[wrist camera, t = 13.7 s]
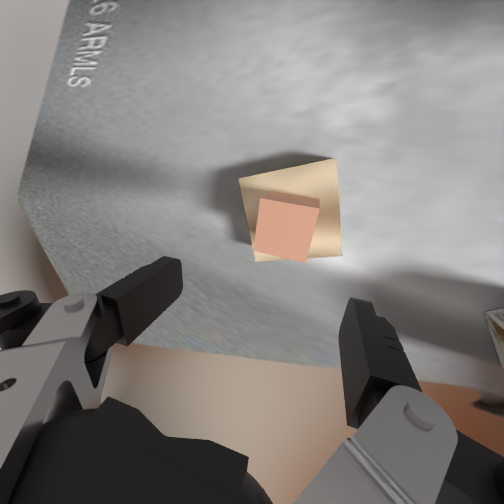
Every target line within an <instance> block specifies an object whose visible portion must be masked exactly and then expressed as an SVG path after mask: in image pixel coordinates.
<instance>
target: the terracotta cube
mask: <svg viewBox="0 0 504 504" xmlns="http://www.w3.org/2000/svg"><path fill="white" fill-rule="evenodd" d="M319 210H320V199H316V198H310V197H304V196H298V195H292V194H286V193H280V192H274V191H271V192H270V193H268V194H266V195H265V196H263V197H261V198H260V204H259V211H258V219H257V226H256V234H255V241H254V249H253V251H256V252H261V253H265V254H269V255H273V256H278V257H282V258H286V259H291V260H295V261H299V262H304V263H306V260H307V256H308V252H309V248H310V245H311V241H312V237H313V233H314V229H315V225H316V221H317V217H318V214H319Z"/></svg>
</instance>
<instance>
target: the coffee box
mask: <svg viewBox="0 0 504 504" xmlns="http://www.w3.org/2000/svg"><path fill="white" fill-rule="evenodd" d="M484 315H485V318H486V321H487V324H488V327H489V330H490V333H491V336H492V339H493V342H494V345H495V348H496V351H497V354H498V357H499V360H500V363H501V366H502V367H503V368H504V308H502V309H497V310H492V311H487V312H485V313H484Z"/></svg>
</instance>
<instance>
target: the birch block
mask: <svg viewBox="0 0 504 504" xmlns="http://www.w3.org/2000/svg"><path fill="white" fill-rule="evenodd" d="M238 180H239V184H240V189H241V194H242V199H243V204H244V208H245V213H246V218H247V223H248V228H249V232H250V237H251V242H252V247H253V249H254V241H255V234H256V226H257V219H258V211H259V204H260V198H261V197H263V196H265V195H266V194H268V193H270V192H271V191H274V192H280V193H286V194H292V195H298V196H304V197H310V198H316V199H320V210H319V214H318V217H317V221H316V225H315V229H314V233H313V237H312V241H311V245H310V248H309V252H308V256H307V258H318V257H333V256H342V243H341V225H340V207H339V190H338V172H337V158H333V159H328V160H323V161H319V162H314V163H309V164H304V165H300V166H295V167H290V168H286V169H281V170H276V171H271V172H267V173H262V174H257V175H253V176H248V177H243V178H238ZM254 256H255V261H256V262H258V261H273V260H288V259H286V258H282V257H278V256H273V255H269V254H265V253H261V252H256V251H254Z"/></svg>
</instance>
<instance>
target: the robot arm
mask: <svg viewBox="0 0 504 504" xmlns="http://www.w3.org/2000/svg"><path fill="white" fill-rule="evenodd" d="M182 289H183V279H182V266H181V261H180V260H179V259H176V258H171V257H167V256H163V257H161V258H160V259H158V260H156V261H155V262H153V263H151V264H149V265H146V266H143V267H141V268H139V269H137V270H136V271H134V272H133V273H132V274H129V275H127V276H126V277H125V278H122V279H121V280H119V281H117V282H116V283H114V284H112V285H110V286H109V287H107V288H105V289H104V290H102V291H100V292H99V293H97V294H93V293H77V294H72V295H69V296H66V297H64V298H62V299H60V300H58V301H56V302H55V303H39V301H38V298H37V296H36V294H35V292H33V291H26V290H25V291H16V292H11V293H7V294H4V295H0V348H1V350H0V504H273V503H272V501H271V500H270V498H269V497H268V495H267V494H266V492H265V491H264V489H263V488H262V487H261V486H260V485H259V483H258V482H257V481H256V480H255V479H254V478H253V477H252V476H251V475H250V474H249V473H248V472H247V467H248V459H249V457H247V456H245V455H243V454H240V453H238V452H236V451H233V450H231V449H229V448H226V447H224V446H222V445H220V444H217V443H215V442H213V441H210V440H201V439H189V438H176V437H175V438H174V437H167V436H165V435H163V434H162V433H161V432H160V431H159V430H158V429H157V428H156V427H155V426H154V425H153V424H152V423H151V422H150V421H149V420H148V419H147V418H146V417H145V416H144V415H143V414H142V413H141V412H140V411H139V410H138V409H136V408H134V407H131V406H129V405H127V404H124V403H122V402H120V401H118V400H115V399H113V398H111V397H107V398H106V400H105V401H104V402H103V403H102V404H101V395H102V391H103V387H104V383H105V379H106V375H107V371H108V367H109V363H110V359H111V356H112V347H111V346H112V345H114V344H115V343H119V344H122V345H125V346H128V345H129V344H131V343H132V342H133V341H134V340H135V339H136V338H137V337H138V336H139V335H140V334H141V333H142V332H143V331H144V330H145V329H146V328H147V327H148V326H149V325H150V324H151V323H152V322H153V321H154V320H156V319H157V318H158V317H159V316H160V315H161V314H162V313H163V312H164V311H165V310H166V309H167V308H168V307H169V306H170V305H171V304H172V303H173V302H174V301H175V300H176V299H177V298H178V297H179V296H180V295H181V292H182ZM339 348H340V358H341V368H342V379H343V388H344V398H345V408H346V418H347V425H348V426H351V427H354V428H357V429H358V430H357V431H356V432H355V434H354V435H353V436H352V437H351V438H350V439H349V438H347V439H346V440H345V441H344V442H343V443H342V444H341V445H340V446H339V448H338V449H337V450H336V452H335V453H334V454H333V455H332V456H331V458H330V459H329V460H328V461H327V463H326V464H325V465H324V466H323V468H322V469H321V470H320V471H319V472H318V474H317V475H316V476H315V477H314V479H313V480H312V481H311V482H310V483H309V485H308V486H307V487H306V488H305V490H304V491H303V492H302V493H301V495H300V496H299V497H298V498H297V500H296V501H295V502H294V503H293V504H504V457H502V456H501V455H499V454H497V453H495V452H494V451H492V450H490V449H488V448H487V447H485V446H483V445H481V444H480V443H478V442H476V441H474V440H473V439H471V438H469V437H467V436H466V435H464V434H462V433H461V432H459V431H458V430H456V429H455V427H454V424H453V423H452V421H451V419H450V418H449V416H448V415H447V414H446V413H445V411H444V410H443V409H442V408H441V407H440V406H439V405H438V404H437V403H436V402H435V401H433V400H432V399H431V398H430V397H428V396H427V395H425V394H424V393H423V392H422V390H421V388H420V386H419V384H418V381H417V379H416V377H415V374H414V372H413V370H412V367H411V365H410V363H409V361H408V358H407V356H406V354H405V352H404V349H403V347H402V345H401V342H399V338H398V336H397V333H396V331H395V329H394V328H393V327H392V325H391V324H390V323H389V322H388V321H387V320H386V319H385V318H383V317H379V316H377V315H376V313H375V310H374V307H373V304H372V303H371V302H370V301H365V300H360V299H356V298H350V299H349V301H348V304H347V307H346V311H345V314H344V317H343V320H342V323H341V326H340V330H339Z"/></svg>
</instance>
